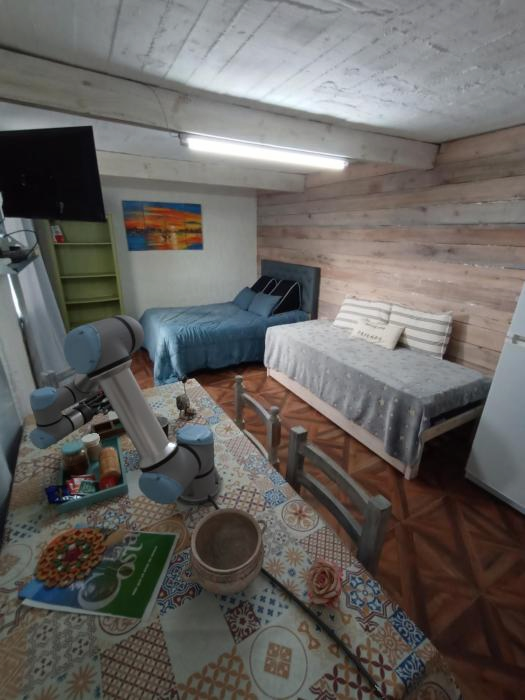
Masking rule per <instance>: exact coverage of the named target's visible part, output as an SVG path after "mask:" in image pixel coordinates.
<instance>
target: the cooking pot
mask: <svg viewBox="0 0 525 700" xmlns="http://www.w3.org/2000/svg"><path fill="white" fill-rule="evenodd" d="M260 524H263V527H262V528H261V526H260ZM267 528H268V523H267V521H266V520H265V519H262V518H260V519H256V518H255V517H254V516H253V515H252V514H251V513H249V512H247V511H246V510H244V509H241V508H237V507H222V508H220V509H218V510H216V509H215V510H213V511H211V512H209V513H207V514H206V515H204V516H203V517H202V518H201V519H200V520H199V521H198V523H197V524H196V526H195V527H194V529H193V532H192V534H191V540H190V545H191V546H190V550H189V563H188V564H187V565H186V566H185V567H183V569H182V570H181V572H180V575H179V576H180V580H181V581H182V582H185V583H196V582H197V584H198V585H199V586H200V587H201V588H203V589H204V590H205V591H206V592H209V593H210V594H214V595H218V596H231V595H236V594H238V593H240V592H242V591H244V590H245V589H247V588H248V587H249V586H250V585H252V584H253V583H254V581H256V579H257V577H258V576H259V574H260V572H261V571H260V570H261V568H262V567H263V564H264V560H265V544H264V541H263V535H264V534H265V532H266V530H267ZM188 571H191V574H192V576H190V577H189V576H188V577H187V576H185V573H186V572H188Z"/></svg>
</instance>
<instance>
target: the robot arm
mask: <svg viewBox="0 0 525 700" xmlns="http://www.w3.org/2000/svg"><path fill="white" fill-rule="evenodd" d="M144 341H145V332H144V329H143V326H142V325H141V323H140V322H139V321H138V320H136V319H135V318H133V317H131V316H129V315H124V314H117V315H113V316H110V317H107V318H103V319H100V320H97V321H93V322H89V323H84V324H82V325H80V326H78V327H75V328H73V329H71V330H70V331H68V332H67V334H66V336H65V338H64V341H63V355H64V357H65V360H66V363H67V364H68V367H70V368H71V369H72V371H74V372H75V373H76V374H77V375H76V376H75V378H74V379H73V380H72V381H71V382H69V383H67V384H65V385H62V386H60V387H58V388H55V387H53V386H45V387H42V388H37V389H35V390H33V391H32V392H31V393H30V394H29V403H30V408H31V411H32V414H33V416H34V420H35V425H36V427H35V428H34V429H32V430H31V431H30V433H29V440H30V442H31V444H32V445H33V446H34V448H37V449H39V450H46V449H48V448H50V447H51V446H53V445H56V444H57V443H59V442H60V441H61V440H62V439H64V438H66V437H68V436H69V435H71V434H72V433H74V432H75V431H77V430H79V429H80V428H82V427H83V426H85V425H87V424H89V423H91V422H92V420H93V419H94V417H95V416H98V415H99V414H102V415H103V416H107V415H108V413H110V412H112V411H111V410H113V409H114V411H115V412H114V413H115V414H116V417H117V418H119V420H120V422H121V423H122V425H123V427H124V429H125V431H126V432H125V433H126V434H127V436H128V438H129V440H130V441H131V443H132V445H133V447H134V449H135V450H136V452H137V454H138V456H139V457H140V458H139V461H138V464H137V465H138V468H139V470H140V471H141V475H140V476H139V478H138V488H139V490H140V491H141V493H142V494H143V495H144V496H145V497H146V498H147V499H149V500H150V501H152V502H154V503H156V504H159V505H170V504H173V503H174V502H175V501H177V499H179V500H180V501H182V502H183V503H186V504H190V505H191V504H192V505H197V504H203V503H206V502H208V501H210V503H211V505H212V506H213V507H214V509H215V510H218V509H221V508H220V507H219V505H218V504H217V503H216V501H215V500H214V499H213V498H214V497H215V496H217V494H218V493H219V491H220V489H221V485H222V484H221V475H220V474H219V472H218V469H217V467H216V465H215V438H214V433H213V431H212V429H211V428H210V427H208V426H207V425H203V424H199V423H198V424H194V423H193V424H187V425H184V426H182V427H180V428H179V429H178V430H177V431H176V435H175V439H176V441H173V440H170V439H169V437H168V438H167V436H166V435H165V433H164V431H163V429H162V427H161V425H160V423H159V422H158V420H157V418H156V417H157V416H156V414H155V412H154V410H153V409H152V407H151V405H150V403H149V401H148V399H147V398H146V396H145V394H144V392H143V390H142V388H141V386H140V385H139V382H138V381H137V379H136V377H135V376H134V373H133V371H132V369H131V364H132V361H133V360H132V356H133V355H134V354H135V353H136V352H137V351H138V350H139V349H140V348H141V347H142V345H143V343H144ZM99 387H100V388H101V392H100V391H99ZM106 399H107V400H106ZM104 400H105V401H104ZM76 404H78V405H76ZM74 405H76V406H74ZM72 406H74V407H72ZM70 407H72V408H71V409H68V408H70ZM67 409H68V410H67ZM65 410H67V411H65ZM63 411H65V412H63ZM260 572H261V573H262V574H263V575H264V576H265V577H266V578H268V579H269V580H270V581H271V582H273V584H275V585H276V586H277V587H278V588H279V589H280V590H282V591H283V592H284V593H285V594H286V595H287V596H288V597H290V599H291V600H293V601H294V603H296V604H297V605H298V606H299V607H301V609H303V610H304V611H305V612H306V613H307V614H308V615H309V616H310V617H311V618H312V619H313V620H314V621H315V622H316V623H317V624H318V625H319V626H320V628H322V629H323V630H324V631H325V632H326V633H327V634H328V635H329V636H330V638H331V639H332V640H333V641H334V642H335V643H336V644H337V645H338V646H339V647H340V649H341V650H342V651H343V652H344V653H345V654H346V655H347V657H348V658H349V659H350V660H351V662H352V663H353V664H354V665H355V666H356V667H357V669H358V670H359V671H360V672H361V673H362V675H363V676H364V677H365V679H366V680H367V681H368V682H369V684H370V685H371V686H372V687H373V689H374V690H375V691H376V693H377V694H378V695H379V697H380V698H381V700H385V699H384V698H382V697H383V696H382V695H381V694H380V692H379V691H378V690H377V688H376V687H375V685H376V686H377V685H378V686H379V684H378V683H377V682H376V680H375V679H374V678H373V677H372V675H371V674H370V672H368V670H367V669H366V668H365V666H364V665H363V664H362V662H360V660H358V658H357V657H356V656H355V655H354V653H353V652H352V651H351V650H350V649H349V648H348V646H346V645H345V644H344V642H343V641H342V640H341V639H340V638H339V636H337V635H336V633H334V631H332V629H331V628H330V627H329V626H328V625H327V624H326V623H325V622H324V621H323V620H321V618H320V617H319V616H318V615H316V613H314V611H313V610H312V609H310V607H309V606H307V605H306V604H305V602H303V601H302V600H301V599H299V598H298V597H297V596H296V595H295V594H294V593H293V592H292V591H291V590H289V589H288V588H287V587H286V586H285V585H283V583H281V582H280V581H279V580H278V579H277V578H276V577H274V576H273V575H272V574H271V573H270V572H269V571H267V570H266V569H265V568H264V567H263V566H262V568H261V570H260ZM378 686H377V687H378ZM381 690H382V691H383V689H382V688H381ZM384 694H385V695H386V693H385V692H384ZM387 698H388V699H389V697H388V696H387Z"/></svg>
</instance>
